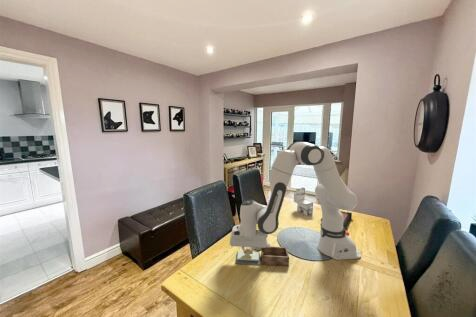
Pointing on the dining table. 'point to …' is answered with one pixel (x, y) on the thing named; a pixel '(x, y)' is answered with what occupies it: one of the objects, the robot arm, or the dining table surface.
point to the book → (345, 218)
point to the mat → (247, 261)
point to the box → (275, 256)
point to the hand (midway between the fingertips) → (248, 253)
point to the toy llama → (303, 202)
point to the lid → (248, 255)
